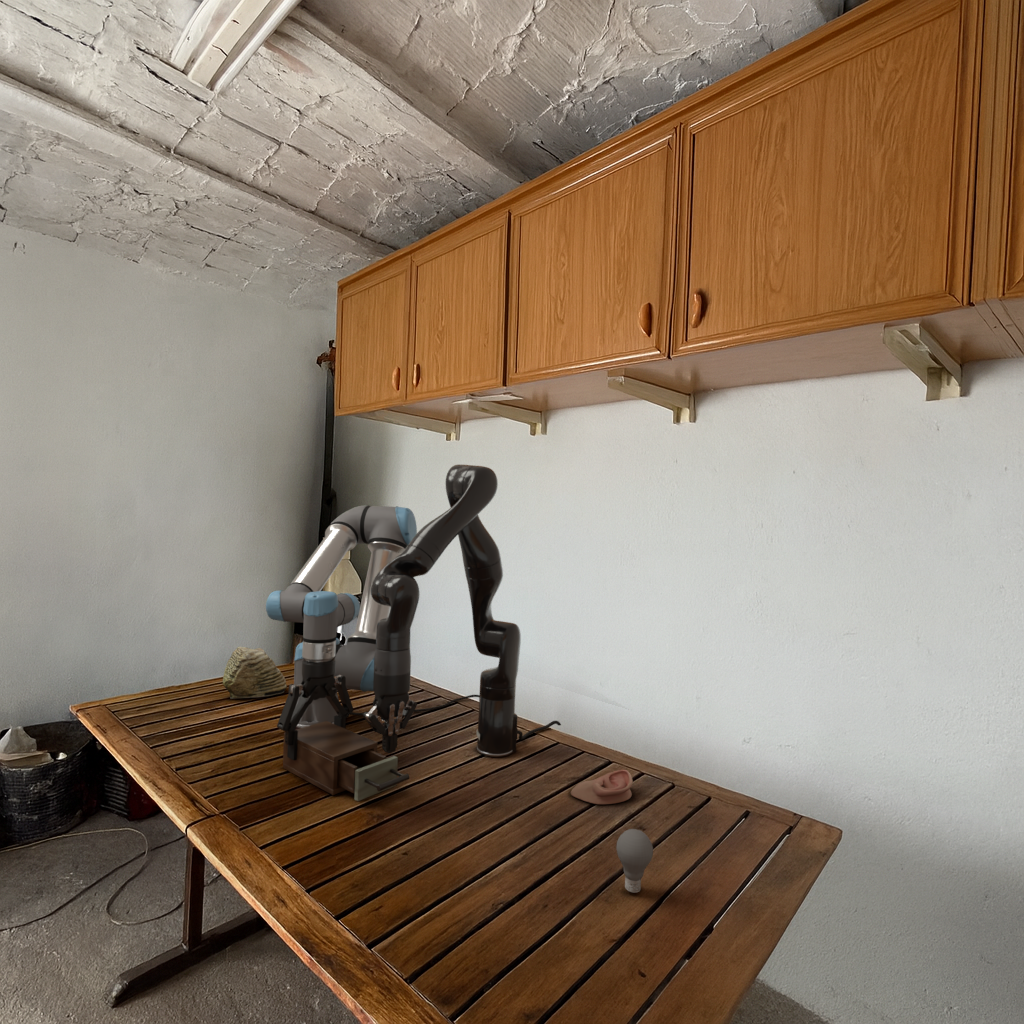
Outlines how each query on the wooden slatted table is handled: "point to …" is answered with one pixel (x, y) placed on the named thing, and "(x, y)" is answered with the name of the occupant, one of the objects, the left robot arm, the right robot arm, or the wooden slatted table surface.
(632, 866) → the light bulb
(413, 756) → the wooden slatted table surface
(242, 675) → the fossil
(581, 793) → the anatomical model
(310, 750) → the cabinet
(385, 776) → the drawer
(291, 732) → the left robot arm
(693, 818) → the wooden slatted table surface
